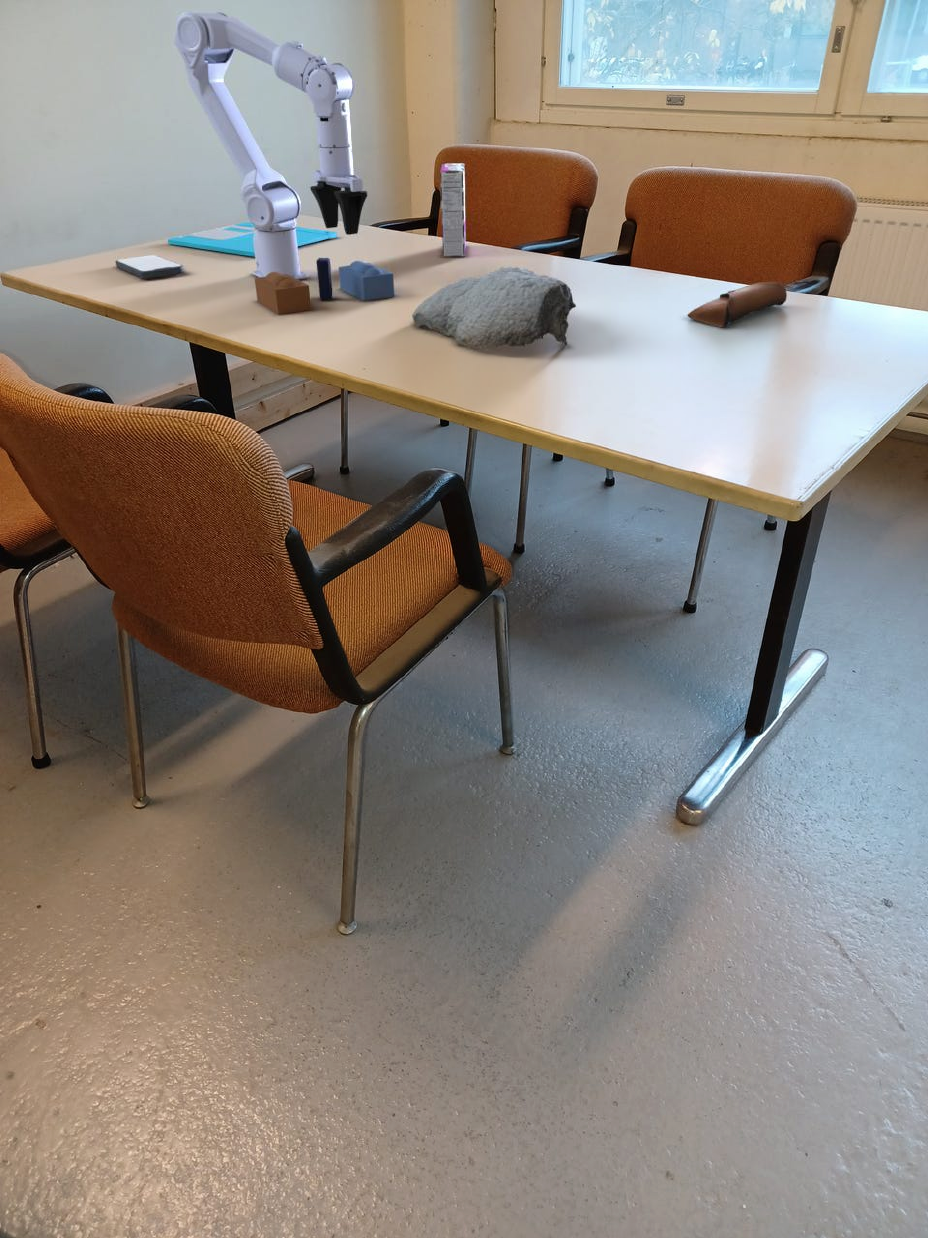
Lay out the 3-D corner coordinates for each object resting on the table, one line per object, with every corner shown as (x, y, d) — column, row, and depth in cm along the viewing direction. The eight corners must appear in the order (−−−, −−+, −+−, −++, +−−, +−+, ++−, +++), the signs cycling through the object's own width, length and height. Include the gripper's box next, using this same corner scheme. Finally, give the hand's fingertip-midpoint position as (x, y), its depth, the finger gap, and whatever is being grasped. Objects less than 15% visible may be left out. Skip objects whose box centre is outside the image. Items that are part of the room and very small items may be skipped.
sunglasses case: (741, 295, 154) (764, 263, 149) (768, 323, 153) (793, 292, 147) (683, 316, 144) (706, 282, 138) (712, 345, 142) (737, 313, 137)
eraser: (321, 297, 157) (318, 257, 154) (334, 297, 157) (330, 257, 153) (318, 300, 156) (314, 259, 152) (331, 300, 155) (327, 260, 152)
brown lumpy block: (257, 301, 155) (253, 271, 153) (289, 297, 158) (286, 267, 155) (278, 314, 148) (274, 283, 145) (311, 309, 151) (308, 278, 148)
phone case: (114, 268, 179) (143, 280, 169) (112, 259, 178) (141, 271, 168) (156, 262, 184) (187, 274, 173) (155, 254, 183) (185, 265, 172)
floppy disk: (258, 257, 185) (257, 252, 184) (166, 243, 197) (166, 239, 197) (338, 236, 203) (338, 232, 202) (250, 225, 216) (249, 220, 215)
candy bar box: (443, 246, 194) (441, 162, 185) (465, 246, 194) (465, 162, 185) (441, 257, 184) (439, 170, 175) (465, 257, 184) (464, 169, 175)
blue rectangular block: (340, 289, 162) (338, 260, 159) (369, 285, 165) (367, 256, 162) (364, 301, 155) (362, 271, 152) (394, 296, 158) (393, 267, 155)
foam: (398, 322, 144) (394, 263, 139) (501, 300, 154) (501, 244, 149) (504, 365, 125) (505, 298, 119) (614, 337, 135) (619, 275, 130)
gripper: (295, 144, 156) (303, 227, 163) (334, 151, 146) (341, 239, 153) (330, 141, 159) (337, 222, 167) (371, 148, 149) (376, 234, 157)
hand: (341, 230), depth 160 cm, fingers open, 7 cm apart
